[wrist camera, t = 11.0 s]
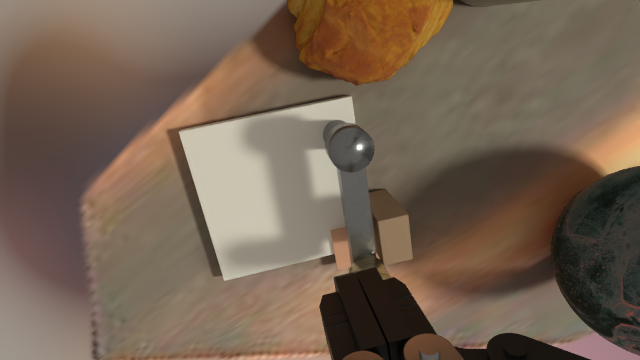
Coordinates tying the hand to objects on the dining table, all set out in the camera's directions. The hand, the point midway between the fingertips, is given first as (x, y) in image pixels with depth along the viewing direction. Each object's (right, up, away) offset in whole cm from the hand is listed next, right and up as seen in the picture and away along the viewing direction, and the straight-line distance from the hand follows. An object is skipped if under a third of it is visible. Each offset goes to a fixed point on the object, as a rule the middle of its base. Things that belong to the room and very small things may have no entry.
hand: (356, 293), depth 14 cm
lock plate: (-4, +2, +30) cm, 30 cm away
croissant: (+2, +21, +25) cm, 32 cm away
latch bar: (+2, +1, +26) cm, 26 cm away
